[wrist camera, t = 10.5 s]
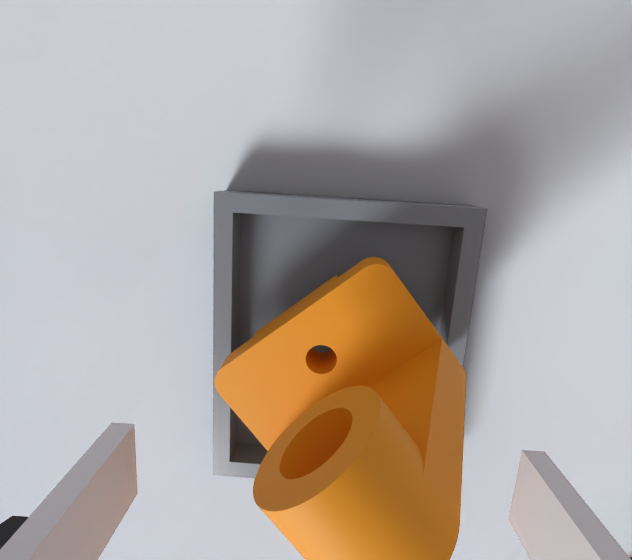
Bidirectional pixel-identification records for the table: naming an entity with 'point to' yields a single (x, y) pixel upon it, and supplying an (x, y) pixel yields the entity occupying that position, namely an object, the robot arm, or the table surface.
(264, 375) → the bracket
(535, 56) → the table surface
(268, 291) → the tray
